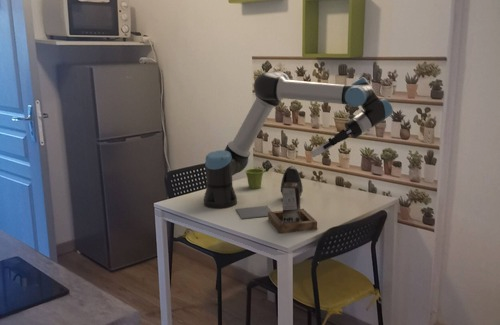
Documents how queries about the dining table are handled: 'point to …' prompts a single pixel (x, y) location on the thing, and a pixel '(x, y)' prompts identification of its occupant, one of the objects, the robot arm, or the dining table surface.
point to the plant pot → (254, 178)
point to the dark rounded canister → (291, 178)
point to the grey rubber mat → (253, 212)
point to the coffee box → (291, 202)
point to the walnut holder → (307, 222)
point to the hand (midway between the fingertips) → (313, 153)
